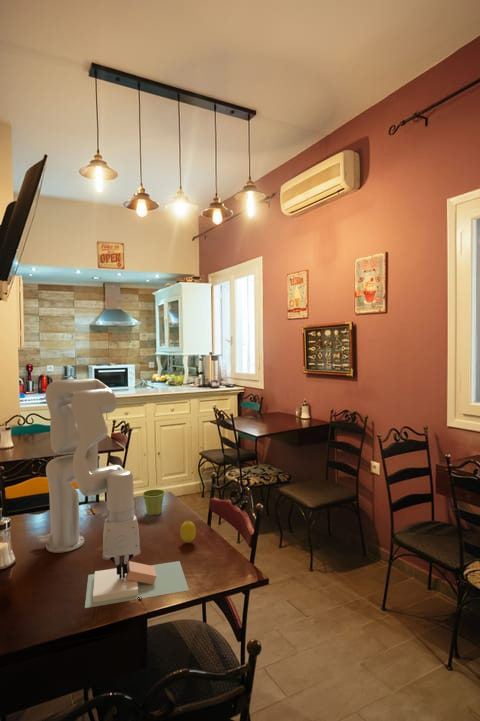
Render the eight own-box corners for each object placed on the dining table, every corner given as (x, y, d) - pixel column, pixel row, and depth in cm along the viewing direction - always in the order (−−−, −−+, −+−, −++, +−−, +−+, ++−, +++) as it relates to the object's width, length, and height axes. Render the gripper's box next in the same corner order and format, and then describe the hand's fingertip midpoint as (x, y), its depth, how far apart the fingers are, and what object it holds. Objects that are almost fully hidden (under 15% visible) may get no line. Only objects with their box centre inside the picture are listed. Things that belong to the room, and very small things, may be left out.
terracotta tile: (126, 579, 125) (129, 570, 125) (126, 569, 130) (129, 561, 131) (153, 584, 127) (156, 576, 127) (151, 574, 133) (154, 566, 133)
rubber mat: (84, 609, 116) (84, 608, 116) (88, 575, 133) (88, 574, 133) (188, 591, 124) (188, 590, 124) (179, 561, 141) (179, 561, 141)
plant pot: (154, 518, 177) (154, 497, 177) (138, 514, 182) (137, 494, 182) (170, 511, 185) (169, 491, 185) (153, 507, 190) (153, 487, 190)
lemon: (198, 541, 156) (198, 519, 156) (190, 547, 151) (190, 524, 151) (185, 538, 158) (185, 516, 158) (177, 544, 153) (176, 522, 153)
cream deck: (93, 602, 118) (92, 596, 118) (95, 576, 132) (94, 571, 132) (138, 594, 122) (138, 588, 121) (135, 570, 135) (135, 565, 135)
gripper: (93, 521, 121) (94, 587, 121) (147, 515, 125) (149, 578, 125) (94, 512, 128) (95, 573, 129) (146, 506, 132) (147, 566, 133)
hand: (122, 575), depth 127 cm, fingers closed
